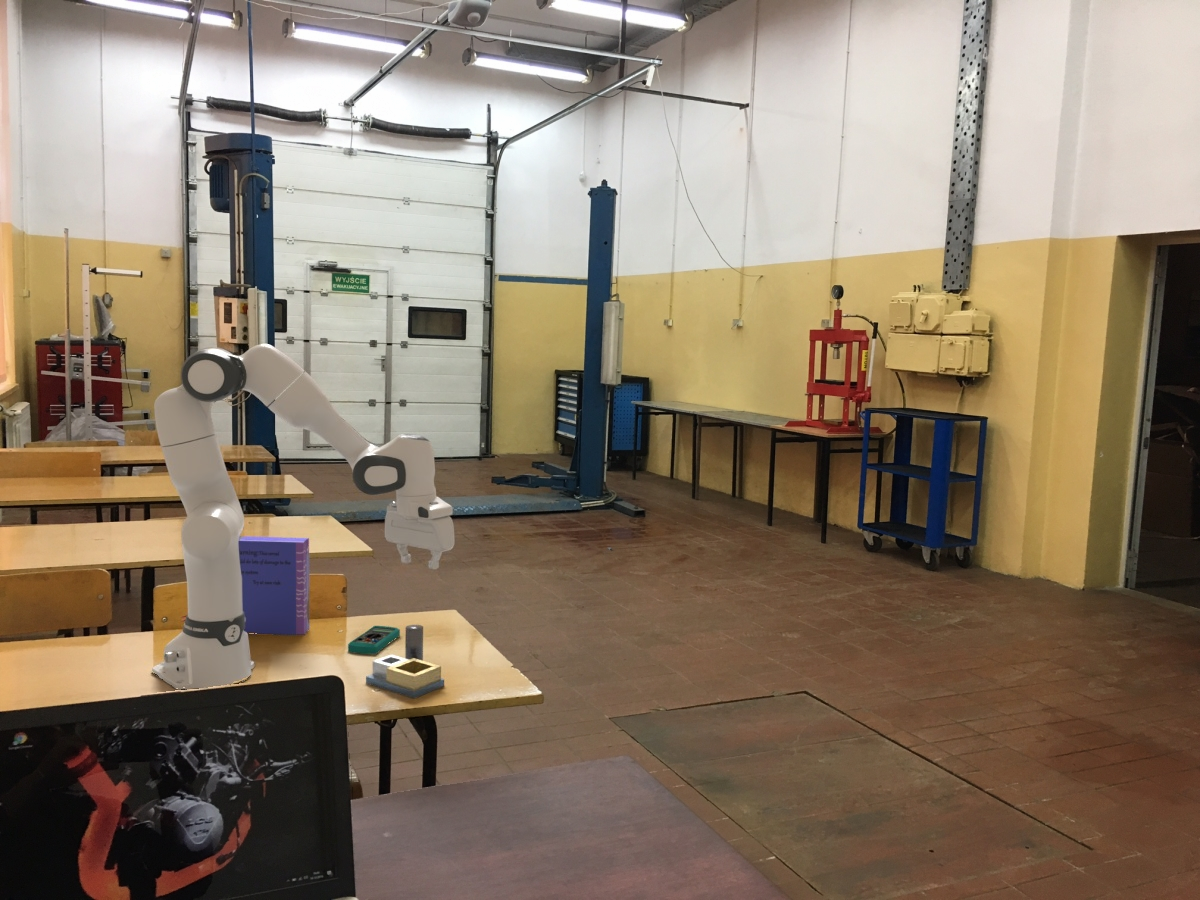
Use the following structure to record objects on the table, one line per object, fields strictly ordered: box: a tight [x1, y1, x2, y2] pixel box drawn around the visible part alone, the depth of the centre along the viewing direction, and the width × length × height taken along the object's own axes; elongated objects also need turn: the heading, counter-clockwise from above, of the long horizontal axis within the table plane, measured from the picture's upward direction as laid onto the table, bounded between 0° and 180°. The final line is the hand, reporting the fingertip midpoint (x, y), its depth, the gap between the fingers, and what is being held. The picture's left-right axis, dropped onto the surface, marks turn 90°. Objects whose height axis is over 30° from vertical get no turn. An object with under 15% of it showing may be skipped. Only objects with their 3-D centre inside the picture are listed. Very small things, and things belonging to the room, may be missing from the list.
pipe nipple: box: [404, 624, 424, 661], centre depth 220 cm, size 4×4×9 cm
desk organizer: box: [365, 654, 445, 699], centre depth 208 cm, size 14×9×4 cm, turn 57°
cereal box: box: [238, 535, 311, 636], centre depth 240 cm, size 17×5×24 cm, turn 91°
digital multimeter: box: [347, 625, 401, 655], centre depth 234 cm, size 7×15×3 cm, turn 168°
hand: (419, 565), depth 217 cm, fingers open, 8 cm apart
